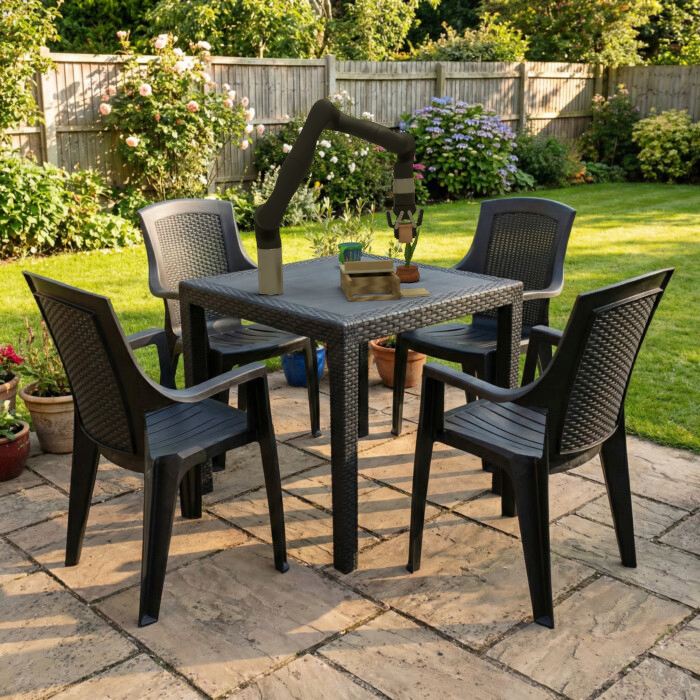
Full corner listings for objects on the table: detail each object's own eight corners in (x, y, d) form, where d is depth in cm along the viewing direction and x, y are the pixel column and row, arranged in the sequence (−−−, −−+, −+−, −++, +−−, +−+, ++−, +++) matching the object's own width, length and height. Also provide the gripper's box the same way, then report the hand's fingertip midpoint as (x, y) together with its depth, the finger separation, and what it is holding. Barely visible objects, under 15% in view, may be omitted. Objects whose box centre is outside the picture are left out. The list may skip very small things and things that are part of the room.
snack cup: (349, 271, 369) (348, 247, 366) (330, 269, 375) (329, 245, 373) (371, 265, 380) (371, 242, 378) (352, 263, 387) (352, 240, 384)
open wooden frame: (349, 301, 311) (348, 281, 309) (340, 286, 337) (340, 267, 335) (400, 299, 313) (400, 278, 311) (387, 284, 339) (387, 265, 337)
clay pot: (399, 243, 312) (398, 224, 310) (396, 241, 318) (395, 222, 316) (415, 242, 313) (414, 223, 311) (411, 240, 318) (411, 221, 316)
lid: (343, 273, 321) (343, 262, 320) (339, 267, 334) (339, 256, 333) (395, 271, 323) (395, 260, 322) (389, 265, 336) (389, 254, 335)
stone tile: (402, 297, 315) (402, 294, 315) (397, 292, 325) (397, 289, 325) (429, 296, 316) (429, 293, 316) (424, 290, 326) (424, 288, 326)
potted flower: (394, 284, 339) (394, 219, 332) (386, 279, 348) (386, 216, 342) (423, 282, 342) (423, 218, 336) (415, 277, 351) (414, 215, 345)
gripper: (421, 189, 315) (422, 236, 319) (382, 191, 313) (384, 238, 318) (426, 190, 308) (427, 238, 312) (385, 193, 306) (387, 241, 311)
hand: (405, 238), depth 315 cm, fingers closed on clay pot, 5 cm apart
